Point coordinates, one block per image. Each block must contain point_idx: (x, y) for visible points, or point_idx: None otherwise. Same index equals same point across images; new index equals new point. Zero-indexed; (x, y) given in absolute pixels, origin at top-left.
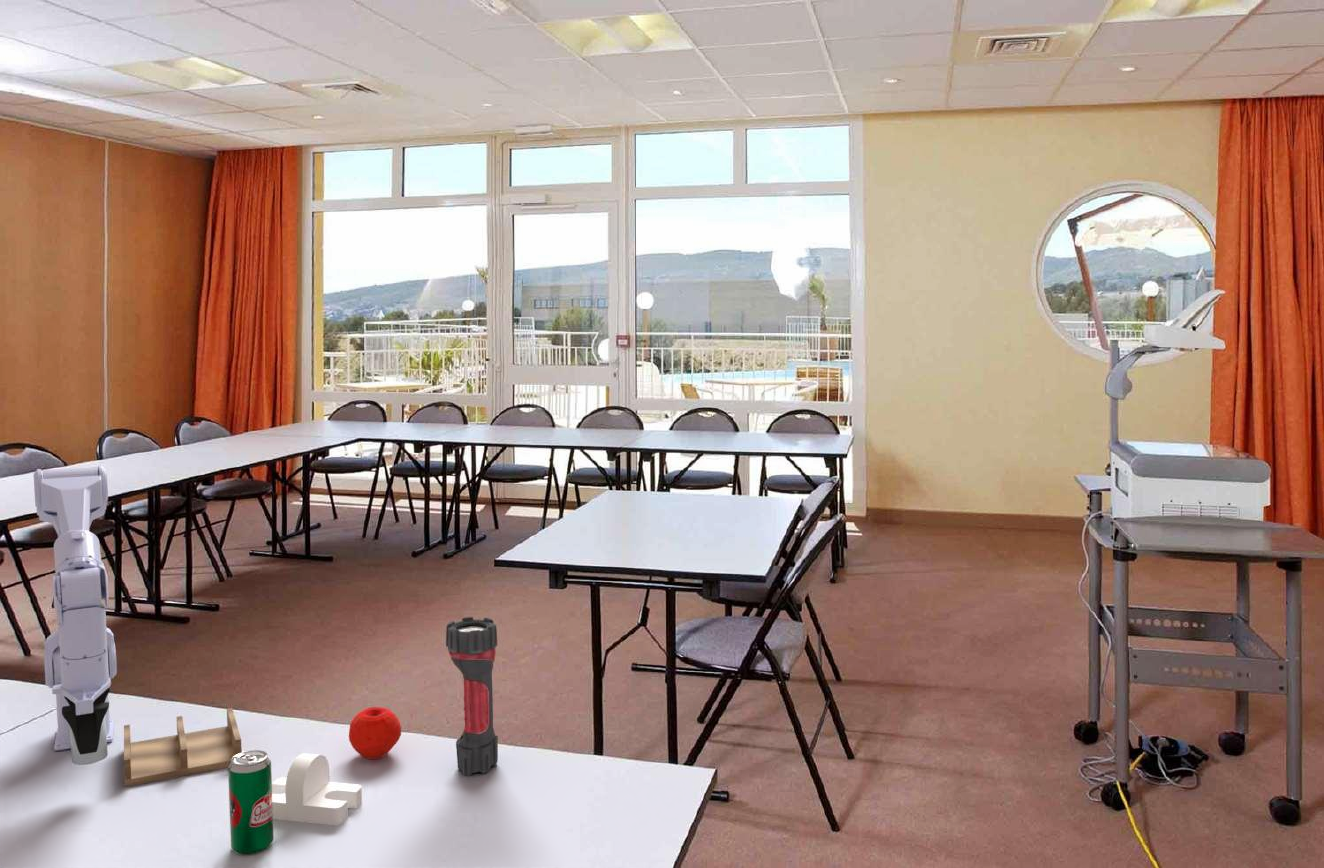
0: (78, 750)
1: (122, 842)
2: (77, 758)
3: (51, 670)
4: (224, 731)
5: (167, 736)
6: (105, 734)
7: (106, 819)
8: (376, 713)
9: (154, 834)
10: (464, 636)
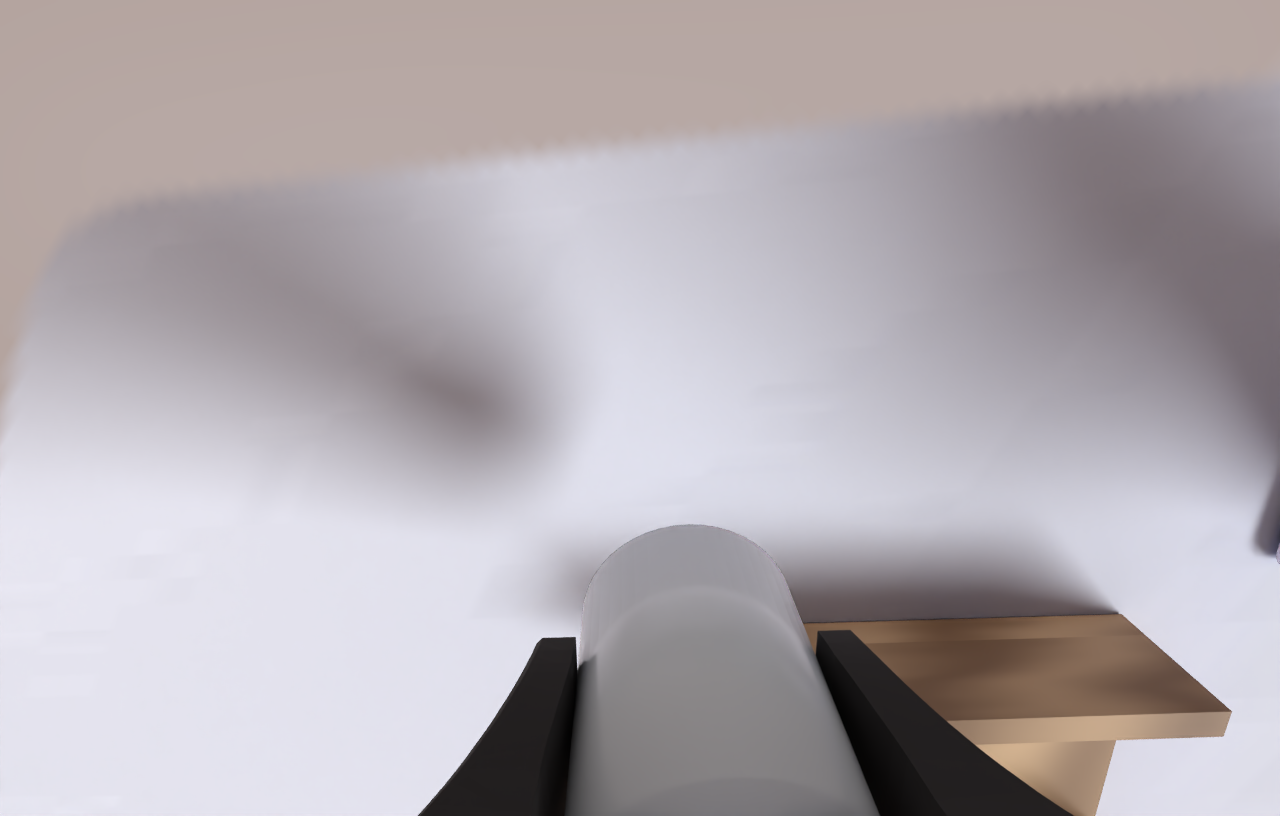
0: (536, 653)
1: (91, 634)
2: (602, 587)
3: None
4: None
5: (1101, 789)
6: None
7: (343, 571)
8: None
9: (134, 731)
10: None
